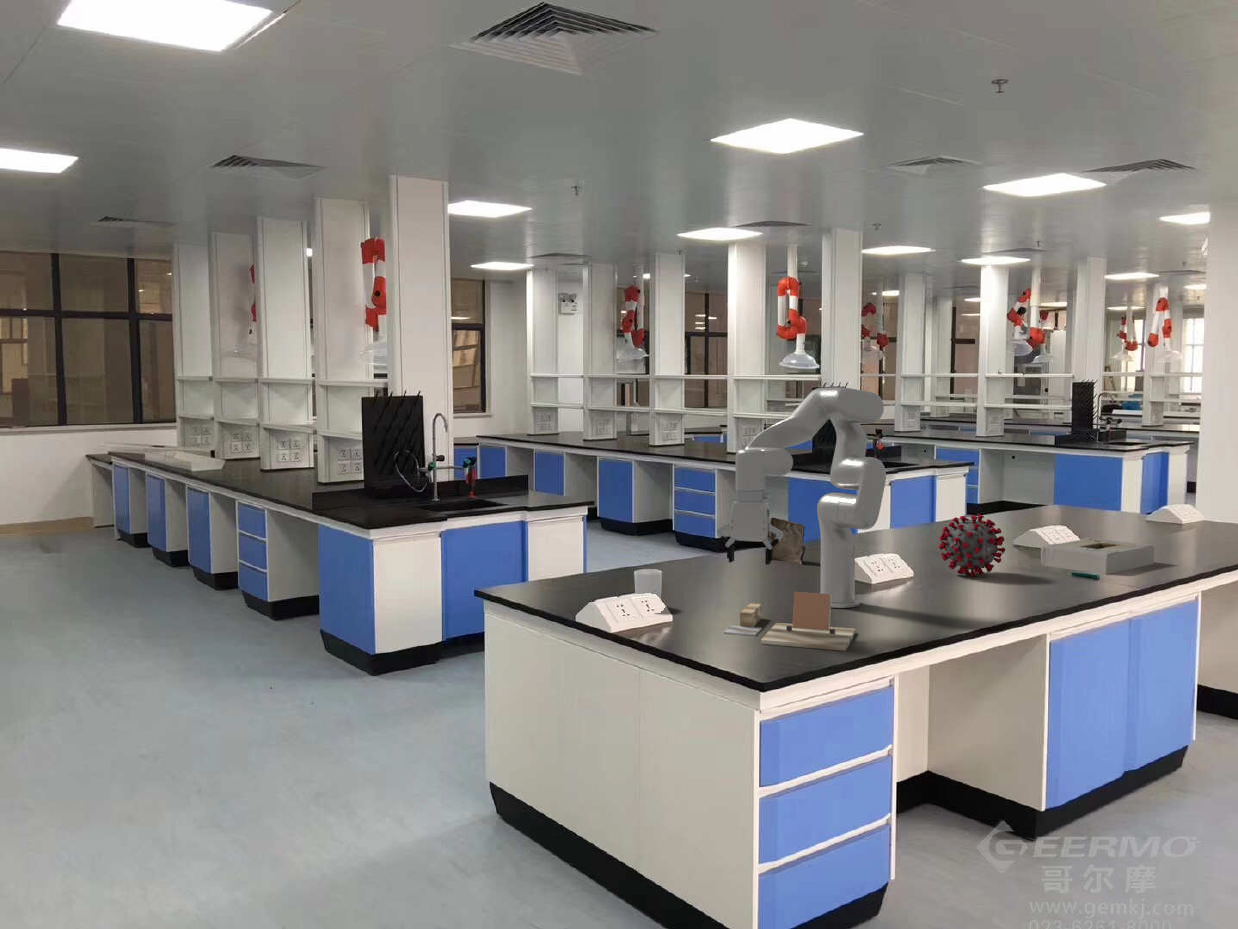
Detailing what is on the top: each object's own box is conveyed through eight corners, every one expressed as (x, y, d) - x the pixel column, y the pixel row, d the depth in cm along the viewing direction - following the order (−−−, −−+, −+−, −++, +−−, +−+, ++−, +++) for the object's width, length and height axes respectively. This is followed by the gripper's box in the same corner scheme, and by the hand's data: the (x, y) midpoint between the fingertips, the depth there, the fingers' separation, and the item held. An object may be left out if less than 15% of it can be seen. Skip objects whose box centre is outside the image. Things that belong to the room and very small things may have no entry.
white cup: (661, 603, 277) (660, 568, 276) (663, 609, 269) (663, 574, 268) (633, 603, 276) (633, 569, 276) (635, 609, 269) (634, 574, 268)
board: (776, 626, 248) (776, 618, 247) (855, 632, 241) (855, 624, 240) (760, 643, 231) (760, 634, 231) (845, 651, 224) (845, 641, 224)
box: (1087, 556, 350) (1039, 566, 331) (1088, 535, 349) (1040, 543, 330) (1154, 566, 331) (1107, 577, 312) (1155, 544, 330) (1108, 553, 311)
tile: (795, 592, 242) (794, 591, 241) (831, 594, 239) (830, 594, 238) (792, 628, 240) (792, 627, 239) (829, 631, 236) (828, 630, 235)
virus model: (1014, 581, 303) (1016, 518, 301) (949, 581, 303) (950, 519, 302) (991, 569, 323) (992, 510, 322) (930, 570, 324) (931, 511, 322)
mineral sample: (764, 559, 348) (765, 517, 347) (772, 558, 350) (772, 516, 349) (802, 565, 335) (802, 522, 334) (809, 563, 338) (809, 521, 337)
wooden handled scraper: (741, 617, 259) (741, 602, 259) (770, 619, 256) (770, 604, 256) (724, 633, 241) (724, 618, 241) (755, 636, 239) (755, 620, 238)
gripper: (786, 496, 249) (785, 562, 250) (721, 494, 255) (720, 558, 256) (780, 499, 242) (779, 567, 243) (713, 497, 248) (713, 563, 249)
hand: (749, 562), depth 249 cm, fingers open, 9 cm apart
